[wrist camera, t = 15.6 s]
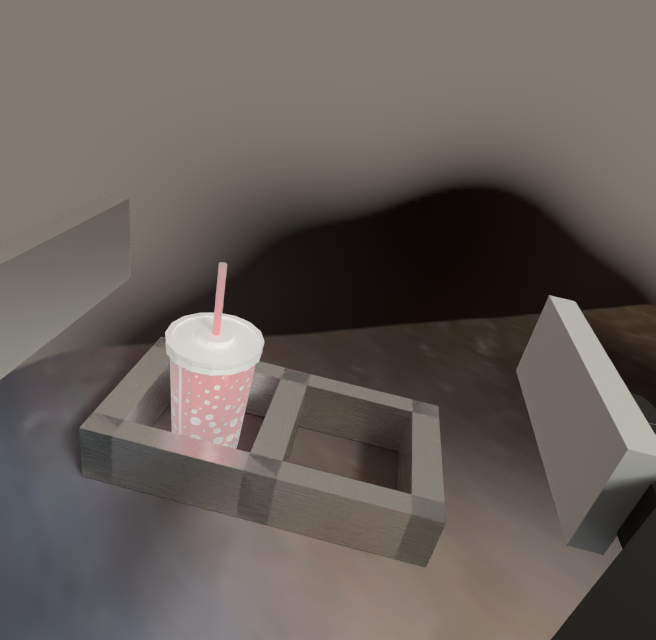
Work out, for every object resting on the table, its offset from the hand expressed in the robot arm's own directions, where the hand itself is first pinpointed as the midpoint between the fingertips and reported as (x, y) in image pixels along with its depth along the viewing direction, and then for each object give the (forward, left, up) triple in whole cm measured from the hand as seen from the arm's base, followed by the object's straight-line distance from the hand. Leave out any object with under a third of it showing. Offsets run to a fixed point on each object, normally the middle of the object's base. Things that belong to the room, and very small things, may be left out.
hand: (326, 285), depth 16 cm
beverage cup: (+7, -12, -20) cm, 24 cm away
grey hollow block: (+2, -12, -20) cm, 23 cm away
